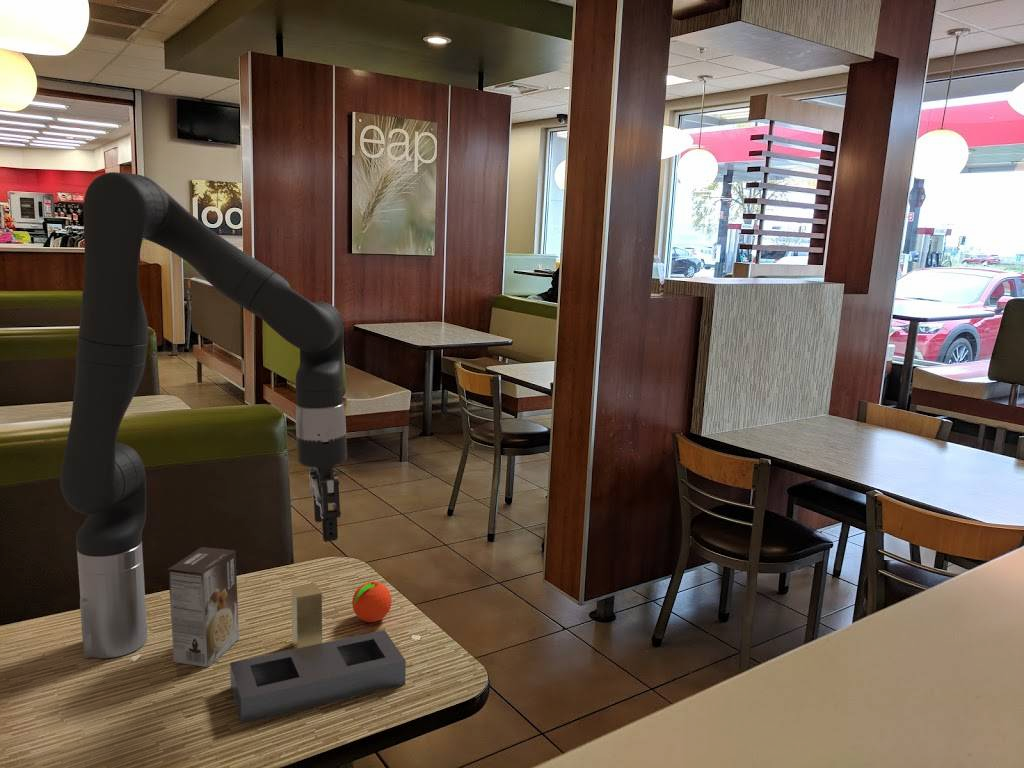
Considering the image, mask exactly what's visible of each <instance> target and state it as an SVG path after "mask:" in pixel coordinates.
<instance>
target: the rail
mask: <svg viewBox="0 0 1024 768" xmlns="http://www.w3.org/2000/svg"><path fill="white" fill-rule="evenodd" d="M406 662H407V661H406V659H405V657H404V656H403V654H402V653H401V651H400V650H399V648H398V647H397V645H396V644H395V643H394V641H393V640H392V638H391V637H390V635H389V634H388V633H387V631H386V630H385V629H383V630H377V631H372V632H368V633H363V634H360V635H354V636H350V637H345V638H339V639H335V640H330V641H327V642H322V643H321V644H316V645H311V646H306V647H302V648H297V649H295V648H294V649H288V650H284V651H279V652H274V653H270V654H264V655H260V656H254V657H251V658H246V659H241V660H235V661H232V662H230V663H229V667H230V669H229V670H230V688H231V692H232V694H233V695H232V696H233V698H234V702H235V706H236V710H237V712H238V716H239V721H240V723H241V725H246V724H251V723H254V722H258V721H259V722H260V721H261V720H262V721H263V720H267V719H271V718H275V717H278V716H279V717H280V716H283V715H287V714H291V713H295V712H299V711H303V710H306V709H307V710H308V709H311V708H315V707H319V706H323V705H327V704H331V703H335V702H339V701H343V700H346V699H350V698H351V699H352V698H356V697H360V696H364V695H367V694H371V693H375V692H379V691H383V690H387V689H392V688H395V687H399V686H403V685H406Z"/></svg>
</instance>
